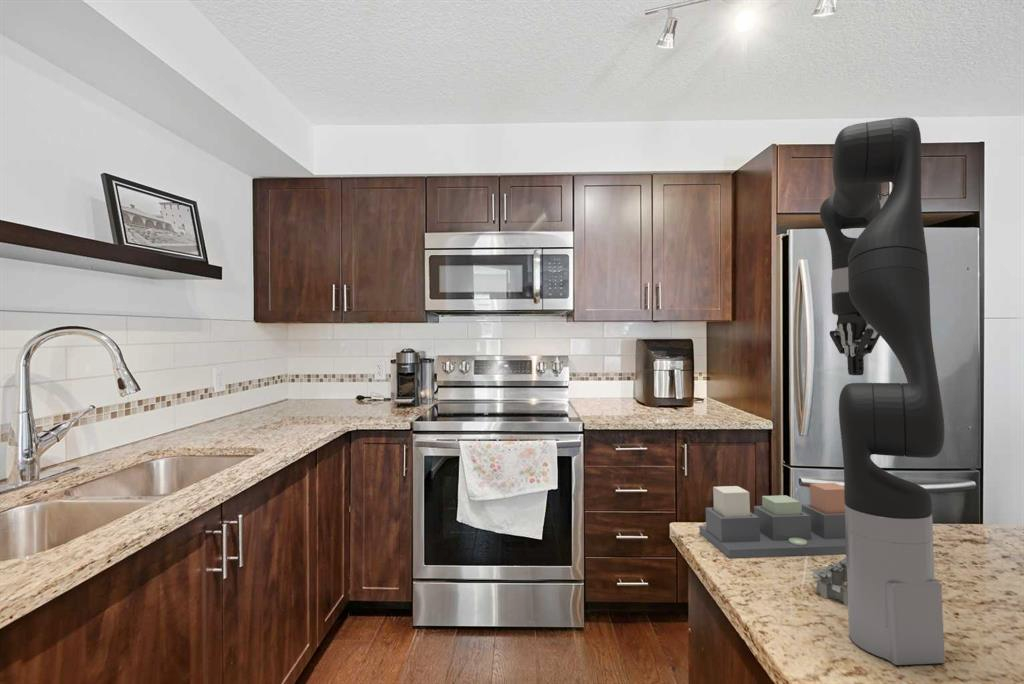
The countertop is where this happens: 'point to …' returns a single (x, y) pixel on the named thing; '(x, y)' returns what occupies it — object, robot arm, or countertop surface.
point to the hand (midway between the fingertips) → (855, 375)
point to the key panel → (776, 533)
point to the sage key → (781, 505)
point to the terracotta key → (827, 498)
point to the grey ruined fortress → (832, 581)
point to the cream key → (731, 501)
